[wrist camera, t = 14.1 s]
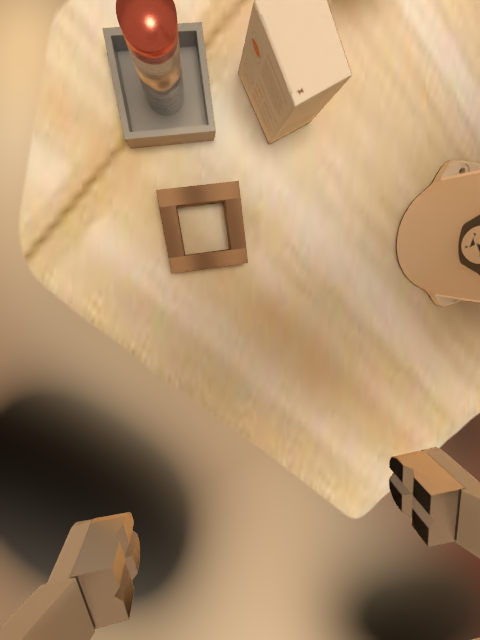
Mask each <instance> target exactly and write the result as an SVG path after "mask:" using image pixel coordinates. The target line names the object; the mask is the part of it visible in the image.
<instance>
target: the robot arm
mask: <svg viewBox="0 0 480 640" xmlns="http://www.w3.org/2000/svg"><path fill="white" fill-rule="evenodd" d="M459 170H460V171H461V173H459ZM397 255H398V260H399V263H400V266H401V268H402V270H403V272H404V274H405V275H406V276H407V278H408V279H409V280H410V281H411V282H412V283H414V284H415V285H417V286H418V287H420V288H422V289H424V290H425V291H426V292H427V293H428V294H429V296H430V297H431V299H432V300H433V302H434V303H435V304H436V305H438V306H449V305H452V304H455V303H458V302H460V301H463V300H466V301H472V302H479V303H480V163H477V162H469V161H461V160H453V161H448V162H446V163H445V164H444V165H443V166H442V167H441V169H440V170H439V172H438V174H437V176H436V177H435V179H434V181H433V183H432V184H431V185H430V186H429V187H428V188H427V189H426V190H424V191H423V192H422V193H421V194H420V195H419V196H418V197H417V198H416V199H415V200H414V201H413V202H412V204H411V205H410V206H409V208H408V209H407V211H406V213H405V215H404V217H403V219H402V221H401V224H400V227H399V231H398V236H397ZM389 467H390V469H391V470H392V471H393V472H394V473H393V474H392V476H391V477H390V479H389V487H390V491H391V494H392V497H393V499H394V501H395V503H396V505H397V506H398V508H399V509H400V510H401V512H402V513H405V514H406V515H408V516H410V517H411V518H412V526H413V528H414V529H415V530H416V531H417V533H418V534H419V536H420V537H421V538H422V540H423V541H424V542H425V544H426V545H427V546H428V547H429V546H434V545H439V544H444V543H449V542H453V541H456V543H457V544H459V545H460V546H462V547H463V548H465V549H466V550H468V551H469V552H471V553H472V554H474V555H476V556H477V557H478V558H480V482H479V481H477V480H476V479H475V478H474V477H473V476H472V475H470V474H469V473H468V472H467V471H466V470H465V469H463V468H462V467H461V466H460V465H459V464H458V463H456V462H455V461H454V460H453V459H452V458H451V457H449V456H448V455H447V454H446V453H444V451H442V450H441V449H439V448H437V447H434V448H430V449H425V450H421V451H416V452H412V453H407V454H403V455H398V456H394V457H391V459H390V466H389ZM133 523H134V521H133V518H132V515H131V513H122V514H117V515H112V516H106V517H101V518H95V519H92V520H86V521H81V522H76V523H75V524H74V525H73V526H72V528H71V530H70V532H69V534H68V537H67V539H66V541H65V544H64V546H63V548H62V550H61V553H60V555H59V558H58V560H57V562H56V564H55V566H54V569H53V571H52V573H51V576H50V578H49V580H48V582H47V584H43V585H41V586H40V587H39V588H38V589H37V590H36V591H35V592H34V593H33V594H32V595H31V596H30V597H29V598H28V599H27V600H26V601H25V602H24V603H23V604H22V605H21V606H20V607H19V608H18V609H17V610H16V611H15V612H14V614H13V615H12V616H11V617H10V618H9V619H8V620H7V621H6V622H5V623H4V624H3V625H2V626H1V627H0V640H90V639H91V637H92V636H93V634H94V632H95V629H97V628H100V627H104V626H108V625H111V624H114V623H118V622H122V621H126V620H129V617H130V611H131V606H132V601H133V595H134V587H133V584H132V580H133V578H134V577H135V576H136V574H137V573H138V567H139V560H140V559H139V558H140V546H139V539H138V535H137V533H135V532H134V531H132V528H133ZM473 640H480V638H477V639H473Z"/></svg>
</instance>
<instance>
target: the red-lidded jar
mask: <svg viewBox="0 0 480 640" xmlns="http://www.w3.org/2000/svg"><path fill="white" fill-rule="evenodd" d="M116 14H117V18H118V22H119V25H120V27H121V30H122V33H123V36H124V38H125V41H126V44H127V47H128V49H129V52H130V55H131V58H132V60H133V63H134V66H135V69H136V71H137V74H138V77H139V80H140V82H141V85H142V88H143V91H144V93H145V96H146V99H147V102H148V104H149V105H150V107H151V108H152V109H153V110H154V111H155V112H156V113H158V114H160V115H164V116H170V115H173V114H175V113H177V112H178V111H179V110H180V109H181V107H182V105H183V102H184V89H183V78H182V67H181V57H180V46H179V35H178V24H177V14H176V8H175V4H174V2H173V0H117V1H116Z"/></svg>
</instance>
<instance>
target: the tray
mask: <svg viewBox="0 0 480 640" xmlns="http://www.w3.org/2000/svg"><path fill="white" fill-rule="evenodd" d="M102 29H103V34H104V39H105V44H106V49H107V54H108V58H109V63H110V68H111V73H112V78H113V83H114V88H115V93H116V98H117V103H118V108H119V113H120V118H121V123H122V128H123V133H124V138H125V140H126V142H127V143H128V144H129V146H130V147H131V148H139V147H149V146H159V145H170V144H180V143H190V142H201V141H211V140H214V137H215V123H214V115H213V108H212V100H211V92H210V84H209V76H208V69H207V61H206V53H205V45H204V37H203V30H202V22H199V23H182V24H178V35H179V46H180V57H181V67H182V78H183V89H184V102H183V105H182V107H181V109H180V110H179V111H178V112H177V113H175V114H173V115H170V116H164V115H160V114H158V113H156V112H155V111H154V110H153V109H152V108H151V107H150V105H149V104H148V102H147V99H146V96H145V93H144V91H143V88H142V85H141V82H140V80H139V77H138V74H137V71H136V69H135V66H134V63H133V60H132V58H131V55H130V52H129V49H128V47H127V44H126V41H125V38H124V36H123V33H122V30H121V27H115V28H102Z"/></svg>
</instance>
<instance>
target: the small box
mask: <svg viewBox="0 0 480 640" xmlns="http://www.w3.org/2000/svg"><path fill="white" fill-rule="evenodd" d="M238 74H239V76H240V78H241V81H242V83H243V85H244V87H245V90H246V92H247V94H248V97H249V99H250V101H251V104H252V106H253V108H254V111H255V113H256V115H257V118H258V120H259V122H260V124H261V127H262V129H263V131H264V134H265V136H266V138H267V141H268V143H269V144H271V143H272V142H274V141H276V140H278V139H280V138H282V137H283V136H285V135H287V134H289V133H291V132H293V131H295V130H297V129H298V128H300V127H302V126H304V125H306V124H308V123H309V122H311V120H312V119H313V118H314V117H315V116H316V115H317V114H318V113H319V112H320V110H321V109H322V108H323V107H324V106H325V105H326V104H327V103H328V102H329V100H330V99H331V98H332V97H333V96H334V95H335V94H336V93H337V92H338V91H339V89H340V88H341V87H342V86H343V85H344V84H345V83H346V82H347V80H348V79H349V78H350V77H351V75H352V73H351V70H350V67H349V64H348V61H347V58H346V55H345V52H344V49H343V46H342V43H341V40H340V37H339V34H338V31H337V28H336V25H335V22H334V19H333V16H332V13H331V11H330V8H329V5H328V1H327V0H255V1H254V3H253V8H252V12H251V17H250V21H249V26H248V30H247V35H246V39H245V44H244V48H243V53H242V57H241V62H240V66H239V71H238Z"/></svg>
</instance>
